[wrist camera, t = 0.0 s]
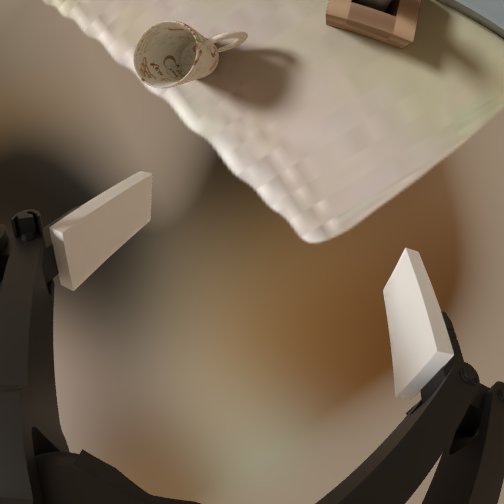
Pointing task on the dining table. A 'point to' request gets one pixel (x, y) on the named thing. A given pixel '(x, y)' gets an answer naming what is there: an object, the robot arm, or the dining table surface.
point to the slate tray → (482, 12)
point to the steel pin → (375, 4)
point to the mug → (178, 54)
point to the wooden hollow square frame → (376, 20)
